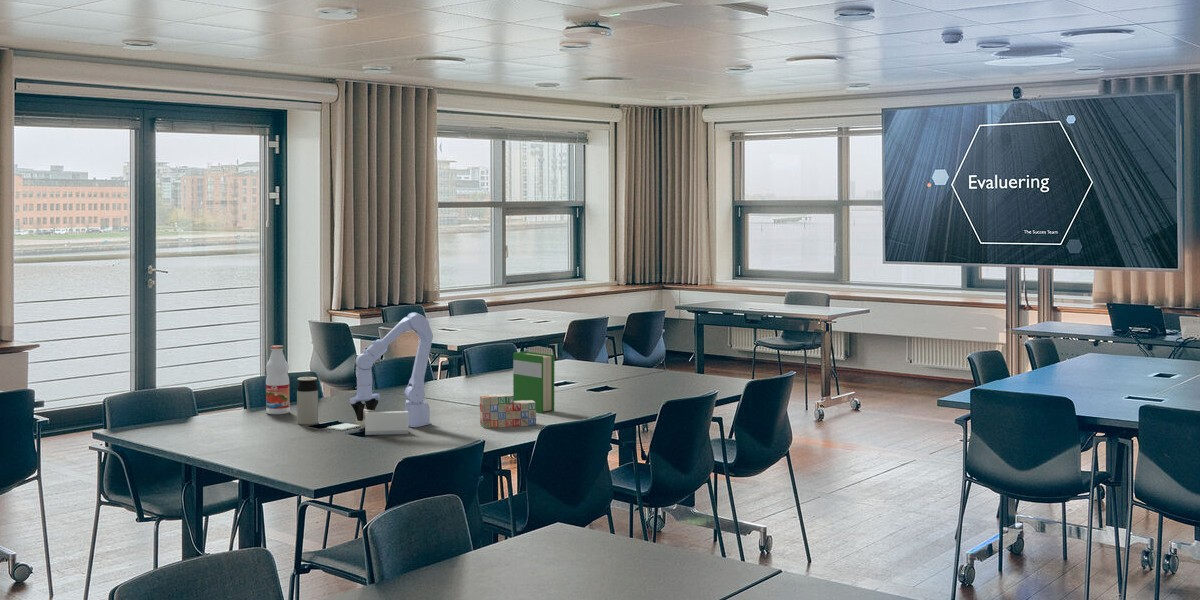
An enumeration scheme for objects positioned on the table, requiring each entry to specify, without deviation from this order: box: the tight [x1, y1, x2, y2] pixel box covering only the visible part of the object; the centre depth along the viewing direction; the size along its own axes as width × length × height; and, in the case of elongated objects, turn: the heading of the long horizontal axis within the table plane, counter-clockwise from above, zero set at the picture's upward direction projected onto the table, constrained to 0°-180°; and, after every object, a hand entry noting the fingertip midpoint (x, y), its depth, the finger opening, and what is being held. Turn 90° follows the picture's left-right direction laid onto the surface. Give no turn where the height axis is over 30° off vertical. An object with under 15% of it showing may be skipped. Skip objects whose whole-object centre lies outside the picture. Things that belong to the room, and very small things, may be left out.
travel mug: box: [296, 376, 319, 426], centre depth 451 cm, size 8×8×18 cm
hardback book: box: [512, 350, 555, 414], centre depth 484 cm, size 18×7×24 cm, turn 46°
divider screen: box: [364, 410, 409, 436], centre depth 431 cm, size 16×5×8 cm, turn 100°
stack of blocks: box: [479, 393, 537, 429], centre depth 449 cm, size 21×6×12 cm, turn 106°
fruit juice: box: [265, 344, 291, 415], centre depth 474 cm, size 9×9×28 cm
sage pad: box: [326, 422, 362, 432], centre depth 442 cm, size 10×8×1 cm
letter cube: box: [355, 408, 375, 426], centre depth 441 cm, size 5×5×5 cm
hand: (365, 419), depth 441 cm, fingers closed on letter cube, 5 cm apart
